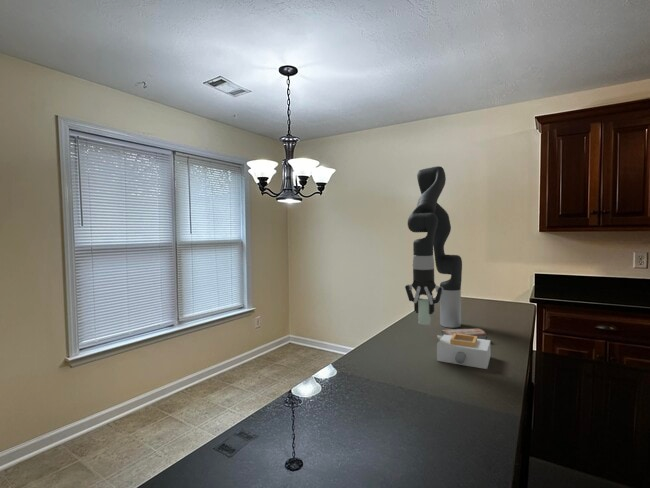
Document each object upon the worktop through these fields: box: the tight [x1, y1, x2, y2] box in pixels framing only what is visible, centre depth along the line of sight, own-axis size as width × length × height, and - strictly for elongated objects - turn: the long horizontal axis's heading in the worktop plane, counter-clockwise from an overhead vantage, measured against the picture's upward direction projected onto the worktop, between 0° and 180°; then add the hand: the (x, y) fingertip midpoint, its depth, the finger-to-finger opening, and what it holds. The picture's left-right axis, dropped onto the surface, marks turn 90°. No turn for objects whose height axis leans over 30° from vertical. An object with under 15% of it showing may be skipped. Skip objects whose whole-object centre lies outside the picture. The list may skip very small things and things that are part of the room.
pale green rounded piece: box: [417, 297, 432, 326], centre depth 131 cm, size 4×4×9 cm
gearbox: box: [436, 333, 491, 370], centre depth 124 cm, size 15×16×8 cm
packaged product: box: [436, 328, 488, 341], centre depth 144 cm, size 18×5×10 cm
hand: (424, 313), depth 132 cm, fingers closed on pale green rounded piece, 4 cm apart
